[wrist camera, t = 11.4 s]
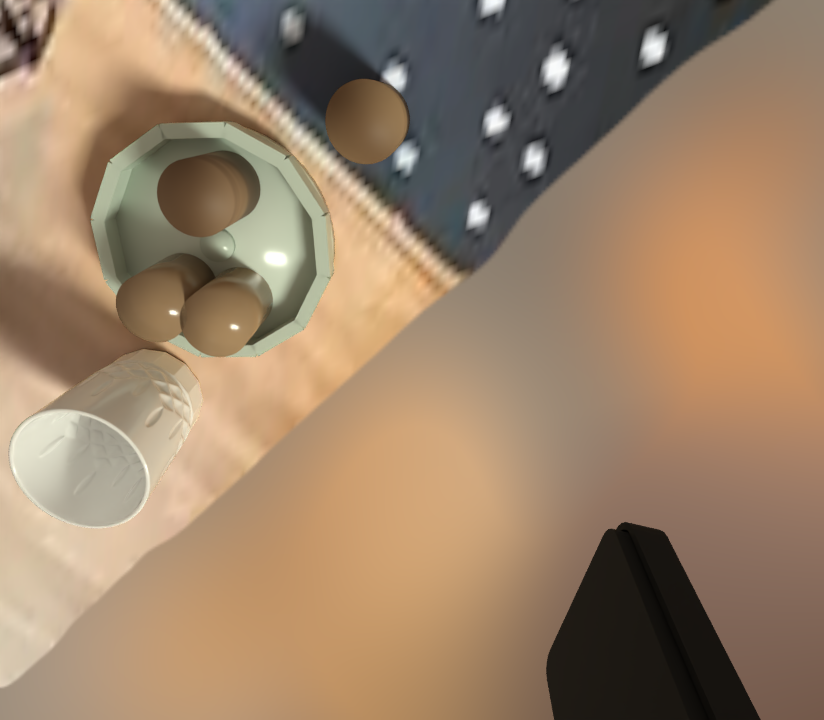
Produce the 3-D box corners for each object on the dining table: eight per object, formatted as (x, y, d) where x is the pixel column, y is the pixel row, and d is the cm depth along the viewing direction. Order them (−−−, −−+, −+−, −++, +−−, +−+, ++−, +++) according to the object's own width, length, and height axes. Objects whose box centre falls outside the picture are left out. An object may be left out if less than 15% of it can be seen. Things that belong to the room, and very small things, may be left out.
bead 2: (385, 66, 34) (376, 61, 29) (422, 131, 35) (419, 136, 31) (327, 107, 35) (309, 108, 30) (365, 168, 36) (353, 179, 32)
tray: (244, 71, 34) (206, 66, 29) (377, 277, 39) (366, 307, 33) (68, 201, 38) (4, 219, 32) (208, 377, 42) (173, 419, 37)
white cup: (87, 343, 42) (-13, 412, 32) (198, 336, 41) (128, 405, 32) (118, 442, 45) (34, 531, 36) (222, 437, 44) (164, 526, 35)
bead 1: (264, 160, 35) (237, 169, 31) (255, 227, 37) (229, 245, 32) (196, 142, 35) (159, 149, 30) (190, 210, 37) (154, 227, 32)
